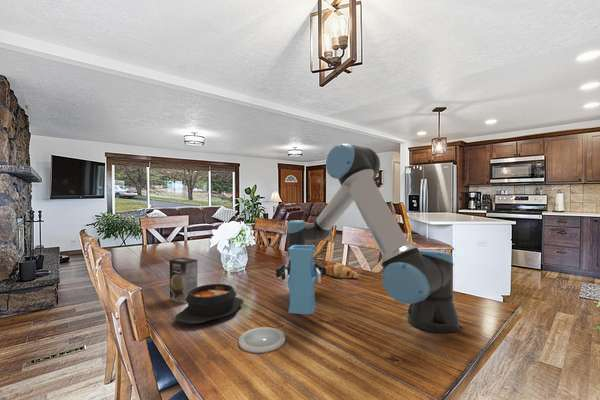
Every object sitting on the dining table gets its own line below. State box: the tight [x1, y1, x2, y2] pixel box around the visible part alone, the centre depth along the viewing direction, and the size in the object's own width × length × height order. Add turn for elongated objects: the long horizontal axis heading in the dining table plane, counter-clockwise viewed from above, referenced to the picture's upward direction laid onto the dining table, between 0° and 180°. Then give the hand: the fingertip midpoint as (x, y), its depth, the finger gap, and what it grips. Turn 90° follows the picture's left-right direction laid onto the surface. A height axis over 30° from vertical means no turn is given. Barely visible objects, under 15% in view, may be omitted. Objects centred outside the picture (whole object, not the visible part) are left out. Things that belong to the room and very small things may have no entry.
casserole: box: [174, 283, 244, 325], centre depth 99 cm, size 25×19×8 cm
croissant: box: [324, 262, 359, 279], centre depth 146 cm, size 21×10×8 cm, turn 55°
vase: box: [287, 244, 317, 315], centre depth 92 cm, size 8×8×20 cm
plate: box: [238, 326, 286, 354], centre depth 80 cm, size 13×13×1 cm
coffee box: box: [169, 257, 198, 305], centre depth 113 cm, size 9×6×16 cm
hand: (303, 278), depth 88 cm, fingers closed on vase, 9 cm apart
